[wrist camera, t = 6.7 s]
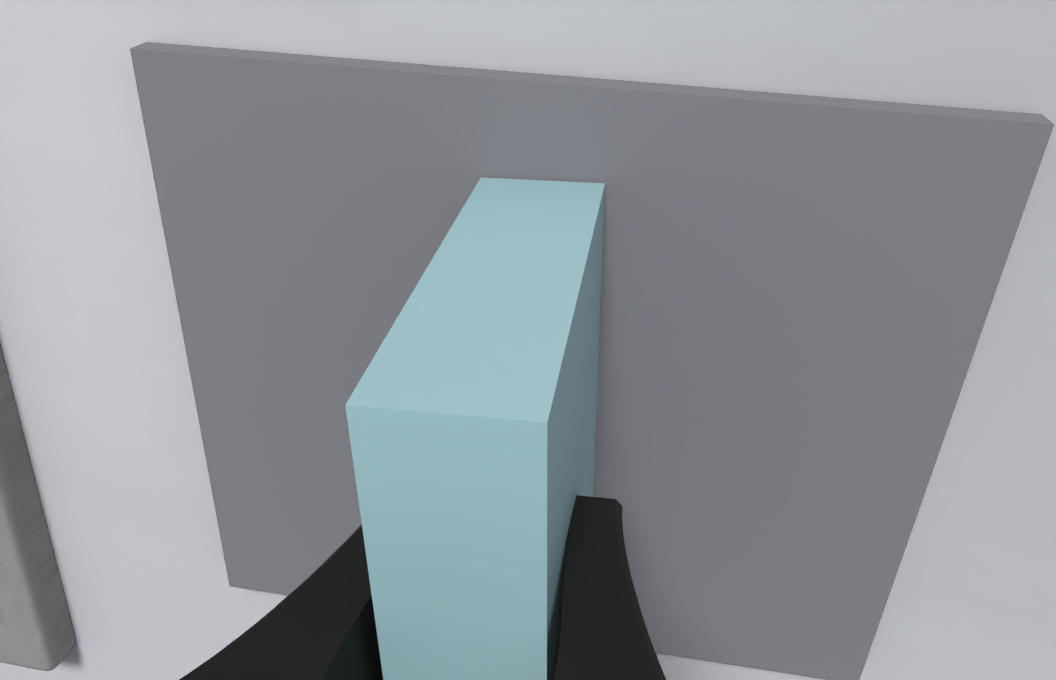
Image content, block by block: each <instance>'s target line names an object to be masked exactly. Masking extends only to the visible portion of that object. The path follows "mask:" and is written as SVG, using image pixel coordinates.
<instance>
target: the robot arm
mask: <svg viewBox="0 0 1056 680" xmlns="http://www.w3.org/2000/svg"><path fill="white" fill-rule="evenodd" d="M622 508H623V506H622V505H621V504H620V503H619V502H618V501H617V500H616V499H610V498H600V497H589V496H579V495H577V496H576V500H575V504H574V507H573V511H572V516H571V520H570V524H569V529H568V534H567V538H566V543H565V560H564V579H563V597H562V616H561V633H560V642H559V651H558V659H557V664H556V669H555V674H554V680H666V679H665V676H664V674H663V671H662V669H661V666H660V664H659V661H658V658H657V656H656V653H655V650H654V647H653V645H652V642H651V639H650V637H649V634H648V631H647V628H646V625H645V622H644V619H643V616H642V612H641V609H640V605H639V602H638V598H637V595H636V592H635V588H634V585H633V581H632V577H631V573H630V569H629V564H628V559H627V554H626V549H625V543H624V536H623V526H622ZM180 680H383V674H382V666H381V659H380V652H379V645H378V638H377V630H376V623H375V616H374V609H373V602H372V594H371V587H370V580H369V573H368V565H367V558H366V551H365V544H364V537H363V529H362V524H361V525H360V526H359V527H358V528H357V529H356V531H355V532H354V533H353V534H352V535H351V536H350V537H349V538H348V539H347V540H346V541H345V542H344V543H343V544H342V545H341V546H340V547H339V548H338V549H337V550H336V551H335V552H334V553H333V554H332V555H331V556H330V557H329V558H328V559H327V560H326V561H325V562H324V563H323V564H322V565H321V566H320V567H319V568H318V569H317V570H316V571H315V572H313V573H312V574H311V575H310V576H309V577H308V578H307V579H306V580H305V581H304V582H303V583H302V584H300V585H299V586H298V587H297V588H296V589H295V590H294V591H293V592H291V593H290V594H289V595H288V596H287V597H286V598H285V599H284V600H283V601H281V602H280V603H279V604H278V605H277V606H276V607H275V608H274V609H273V610H271V611H270V612H269V613H268V614H267V615H265V616H264V617H263V618H262V619H261V620H259V621H258V622H257V623H256V624H255V625H253V626H252V627H251V628H250V629H248V630H247V631H246V632H245V633H243V634H242V635H241V636H240V637H238V638H237V639H236V640H234V641H233V642H232V643H230V644H229V645H228V646H226V647H225V648H224V649H222V650H221V651H220V652H219V653H217V654H216V655H214V656H213V657H212V658H210V659H209V660H207V661H206V662H205V663H203V664H202V665H200V666H199V667H197V668H196V669H195V670H193V671H192V672H190V673H189V674H187V675H186V676H184V677H183V678H181V679H180Z"/></svg>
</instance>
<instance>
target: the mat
mask: <svg viewBox="0 0 1056 680" xmlns="http://www.w3.org/2000/svg"><path fill="white" fill-rule="evenodd" d="M130 51H131V56H132V62H133V67H134V73H135V78H136V83H137V89H138V94H139V100H140V105H141V110H142V116H143V121H144V127H145V132H146V137H147V143H148V148H149V154H150V159H151V164H152V170H153V175H154V181H155V186H156V191H157V197H158V202H159V208H160V213H161V218H162V224H163V229H164V235H165V240H166V245H167V251H168V256H169V262H170V267H171V272H172V278H173V283H174V289H175V294H176V299H177V305H178V310H179V316H180V321H181V326H182V332H183V337H184V343H185V348H186V353H187V359H188V364H189V370H190V375H191V380H192V386H193V391H194V396H195V402H196V407H197V413H198V418H199V423H200V429H201V434H202V440H203V445H204V450H205V456H206V461H207V467H208V472H209V477H210V483H211V488H212V494H213V499H214V504H215V510H216V515H217V521H218V526H219V531H220V537H221V542H222V548H223V553H224V558H225V564H226V569H227V575H228V580H229V585H230V586H232V587H238V588H244V589H251V590H257V591H264V592H270V593H276V594H283V595H289V594H290V593H291V592H293V591H294V590H295V589H296V588H297V587H298V586H299V585H300V584H302V583H303V582H304V581H305V580H306V579H307V578H308V577H309V576H310V575H311V574H312V573H313V572H315V571H316V570H317V569H318V568H319V567H320V566H321V565H322V564H323V563H324V562H325V561H326V560H327V559H328V558H329V557H330V556H331V555H332V554H333V553H334V552H335V551H336V550H337V549H338V548H339V547H340V546H341V545H342V544H343V543H344V542H345V541H346V540H347V539H348V538H349V537H350V536H351V535H352V534H353V533H354V532H355V531H356V529H357V528H358V527H359V526H360V525H361V524H362V522H361V515H360V508H359V501H358V493H357V486H356V479H355V472H354V464H353V457H352V450H351V443H350V436H349V428H348V421H347V414H346V407H345V405H346V403H347V401H348V400H349V398H350V396H351V395H352V393H353V391H354V389H355V388H356V386H357V384H358V383H359V381H360V379H361V378H362V376H363V374H364V373H365V371H366V369H367V368H368V366H369V364H370V363H371V361H372V359H373V358H374V356H375V354H376V353H377V351H378V349H379V347H380V346H381V344H382V342H383V341H384V339H385V337H386V336H387V334H388V332H389V331H390V329H391V327H392V326H393V324H394V322H395V321H396V319H397V317H398V316H399V314H400V312H401V311H402V309H403V307H404V306H405V304H406V302H407V300H408V299H409V297H410V295H411V294H412V292H413V290H414V289H415V287H416V285H417V284H418V282H419V280H420V279H421V277H422V275H423V274H424V272H425V270H426V269H427V267H428V265H429V264H430V262H431V260H432V259H433V257H434V255H435V253H436V252H437V250H438V248H439V247H440V245H441V243H442V242H443V240H444V238H445V237H446V235H447V233H448V232H449V230H450V228H451V227H452V225H453V223H454V222H455V220H456V218H457V217H458V215H459V213H460V211H461V210H462V208H463V206H464V205H465V203H466V201H467V200H468V198H469V196H470V195H471V193H472V191H473V190H474V188H475V186H476V185H477V183H478V181H479V180H480V178H481V177H482V178H503V179H524V180H545V181H567V182H588V183H605V197H604V224H603V251H602V278H601V305H600V332H599V360H598V387H597V414H596V441H595V468H594V496H593V497H600V498H610V499H616V500H617V501H618V502H619V503H620V504H621V505H622V506H623V508H622V526H623V536H624V543H625V549H626V554H627V559H628V564H629V569H630V573H631V577H632V581H633V585H634V588H635V592H636V595H637V598H638V602H639V605H640V609H641V612H642V616H643V619H644V622H645V625H646V628H647V631H648V634H649V637H650V639H651V642H652V645H653V647H654V650H655V653H660V654H667V655H673V656H679V657H686V658H692V659H699V660H705V661H711V662H718V663H724V664H731V665H737V666H743V667H750V668H756V669H763V670H769V671H775V672H782V673H788V674H795V675H801V676H807V677H814V678H820V679H827V680H859V679H860V677H861V674H862V671H863V668H864V665H865V662H866V659H867V657H868V654H869V651H870V648H871V645H872V642H873V639H874V637H875V634H876V631H877V628H878V625H879V622H880V619H881V617H882V614H883V611H884V608H885V605H886V602H887V600H888V597H889V594H890V591H891V588H892V585H893V582H894V580H895V577H896V574H897V571H898V568H899V565H900V562H901V560H902V557H903V554H904V551H905V548H906V545H907V542H908V540H909V537H910V534H911V531H912V528H913V525H914V522H915V520H916V517H917V514H918V511H919V508H920V505H921V503H922V500H923V497H924V494H925V491H926V488H927V485H928V483H929V480H930V477H931V474H932V471H933V468H934V465H935V463H936V460H937V457H938V454H939V451H940V448H941V445H942V443H943V440H944V437H945V434H946V431H947V428H948V425H949V423H950V420H951V417H952V414H953V411H954V408H955V406H956V403H957V400H958V397H959V394H960V391H961V388H962V386H963V383H964V380H965V377H966V374H967V371H968V368H969V366H970V363H971V360H972V357H973V354H974V351H975V348H976V346H977V343H978V340H979V337H980V334H981V331H982V328H983V326H984V323H985V320H986V317H987V314H988V311H989V309H990V306H991V303H992V300H993V297H994V294H995V291H996V289H997V286H998V283H999V280H1000V277H1001V274H1002V271H1003V269H1004V266H1005V263H1006V260H1007V257H1008V254H1009V251H1010V249H1011V246H1012V243H1013V240H1014V237H1015V234H1016V231H1017V229H1018V226H1019V223H1020V220H1021V217H1022V214H1023V211H1024V209H1025V206H1026V203H1027V200H1028V197H1029V194H1030V192H1031V189H1032V186H1033V183H1034V180H1035V177H1036V174H1037V172H1038V169H1039V166H1040V163H1041V160H1042V157H1043V154H1044V152H1045V149H1046V146H1047V143H1048V140H1049V137H1050V134H1051V132H1052V129H1053V126H1054V124H1053V123H1051V122H1050V121H1049V120H1048V119H1047V118H1045V117H1044V116H1043V115H1039V114H1027V113H1015V112H1002V111H990V110H978V109H965V108H953V107H941V106H928V105H916V104H903V103H891V102H879V101H866V100H854V99H842V98H829V97H817V96H805V95H792V94H780V93H767V92H755V91H743V90H730V89H718V88H706V87H693V86H681V85H669V84H656V83H644V82H631V81H619V80H607V79H594V78H582V77H570V76H557V75H545V74H533V73H520V72H508V71H495V70H483V69H471V68H458V67H446V66H434V65H421V64H409V63H397V62H384V61H372V60H359V59H347V58H335V57H322V56H310V55H298V54H285V53H273V52H261V51H248V50H236V49H223V48H211V47H199V46H186V45H174V44H162V43H149V42H146V43H144V44H141V45H138V46H136V47H133V48H131V49H130Z"/></svg>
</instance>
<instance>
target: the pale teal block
mask: <svg viewBox="0 0 1056 680" xmlns="http://www.w3.org/2000/svg"><path fill="white" fill-rule="evenodd" d="M604 197H605V183H588V182H567V181H545V180H524V179H503V178H482V177H481V178H480V180H479V181H478V183H477V185H476V186H475V188H474V190H473V191H472V193H471V195H470V196H469V198H468V200H467V201H466V203H465V205H464V206H463V208H462V210H461V211H460V213H459V215H458V217H457V218H456V220H455V222H454V223H453V225H452V227H451V228H450V230H449V232H448V233H447V235H446V237H445V238H444V240H443V242H442V243H441V245H440V247H439V248H438V250H437V252H436V253H435V255H434V257H433V259H432V260H431V262H430V264H429V265H428V267H427V269H426V270H425V272H424V274H423V275H422V277H421V279H420V280H419V282H418V284H417V285H416V287H415V289H414V290H413V292H412V294H411V295H410V297H409V299H408V300H407V302H406V304H405V306H404V307H403V309H402V311H401V312H400V314H399V316H398V317H397V319H396V321H395V322H394V324H393V326H392V327H391V329H390V331H389V332H388V334H387V336H386V337H385V339H384V341H383V342H382V344H381V346H380V347H379V349H378V351H377V353H376V354H375V356H374V358H373V359H372V361H371V363H370V364H369V366H368V368H367V369H366V371H365V373H364V374H363V376H362V378H361V379H360V381H359V383H358V384H357V386H356V388H355V389H354V391H353V393H352V395H351V396H350V398H349V400H348V401H347V403H346V405H345V407H346V414H347V421H348V428H349V436H350V443H351V450H352V457H353V464H354V472H355V479H356V486H357V493H358V501H359V508H360V515H361V522H362V529H363V537H364V544H365V551H366V558H367V565H368V573H369V580H370V587H371V594H372V602H373V609H374V616H375V623H376V630H377V638H378V645H379V652H380V659H381V666H382V674H383V680H554V674H555V669H556V664H557V659H558V651H559V642H560V633H561V616H562V597H563V579H564V560H565V543H566V538H567V534H568V529H569V524H570V520H571V516H572V511H573V507H574V504H575V500H576V496H577V495H579V496H589V497H593V496H594V468H595V441H596V414H597V387H598V360H599V332H600V305H601V278H602V251H603V224H604Z"/></svg>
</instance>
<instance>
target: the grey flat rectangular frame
mask: <svg viewBox="0 0 1056 680" xmlns="http://www.w3.org/2000/svg"><path fill="white" fill-rule="evenodd" d="M75 643H76V638H75V633H74V629H73V625H72V621H71V617H70V613H69V609H68V605H67V601H66V597H65V593H64V589H63V585H62V582H61V578H60V574H59V570H58V566H57V562H56V558H55V554H54V550H53V547H52V543H51V539H50V535H49V531H48V527H47V523H46V519H45V515H44V512H43V508H42V504H41V500H40V496H39V492H38V488H37V484H36V480H35V476H34V473H33V469H32V465H31V461H30V457H29V453H28V449H27V445H26V441H25V438H24V434H23V430H22V426H21V422H20V418H19V414H18V410H17V406H16V403H15V399H14V395H13V391H12V387H11V383H10V379H9V375H8V371H7V368H6V364H5V360H4V356H3V352H2V348H1V344H0V662H3V663H8V664H13V665H17V666H22V667H27V668H32V669H38V670H44V671H50V670H53V669H54V668H55V667H57V666H58V665H59V664H60V662H61V661H62V660H63V659H64V658H65V656H66V655H67V654H68V653H69V651H70V650H71V649H72V647H73V646H74V645H75Z"/></svg>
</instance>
